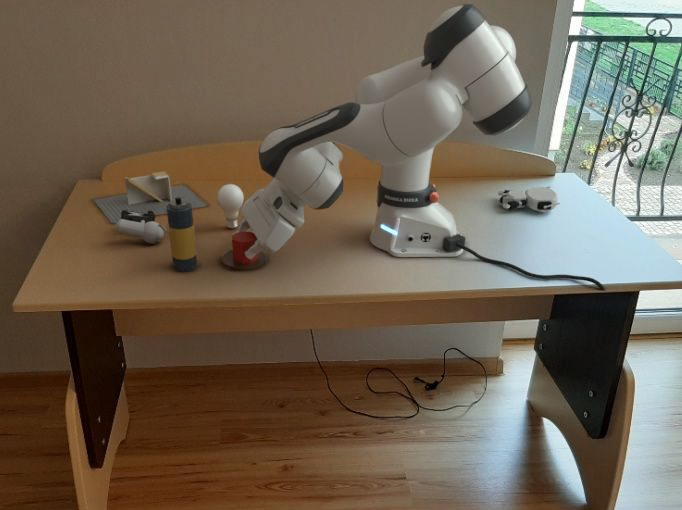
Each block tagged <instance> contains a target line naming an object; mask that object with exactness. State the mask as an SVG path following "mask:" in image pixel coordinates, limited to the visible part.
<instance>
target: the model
mask: <svg viewBox="0 0 682 510" xmlns="http://www.w3.org/2000/svg"><path fill="white" fill-rule="evenodd" d="M124 178H125V179H124V183H125V191H126V198H127V204H128V205H133V204H139V203H145V202H150V201H156V200H157V201H159V202H160V203H163V202H164V200H163V199H168V200H169V201H171V200H173V196H172V187H173V186H171V179H170V175H168V173H167V172H166V171H163V170H162V171H158V172H151V174H148V175H142V176H136V177H128V176H127V175H124Z"/></svg>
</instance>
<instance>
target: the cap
mask: <svg viewBox="0 0 682 510" xmlns="http://www.w3.org/2000/svg"><path fill="white" fill-rule="evenodd" d="M234 233H235V232H234ZM256 240H257V238H256V236H255V234H254V233H253V231H247V232H238V233H235V234H232V236H231V248H232V249H231V250H232V251H233V259H234V260H235V261H236V262H239V263H252V262H254V261H256V260H257V259H258V254H256V255H255V256H254V257H253V258H252V259H249V258H247V257H246V256H245V254H244V251H245V250H246V249H247V248H248V247H249V248H250V247H252V246H253V245H254V244H255V242H256Z"/></svg>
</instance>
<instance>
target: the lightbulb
mask: <svg viewBox="0 0 682 510" xmlns="http://www.w3.org/2000/svg"><path fill="white" fill-rule="evenodd" d="M216 201H217V204H218V206H219V207H220V208H221V209H222V211H223V213H224V216H225V219H226V227H227V228H228V229H231V230H233V229H236V228H237V227H239V225H238V224H239V223H238V217H239V212H240V210H241V208H242V206H243V205H244V201H245V195H244V192H243V190H242V189H241V188H240V187H239V186H238V185H236V184H233V183H227V184H224V185H222V186H221V187H220V188H219V189H218V191H217V195H216Z"/></svg>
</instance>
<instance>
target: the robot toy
mask: <svg viewBox="0 0 682 510" xmlns="http://www.w3.org/2000/svg"><path fill="white" fill-rule="evenodd" d="M497 195H498V196H500V197H499V202H500V203H501V204H502V208H504V209H506V210H517V209H522V208H524V207H525V206H527V207H528V209H531V210H533V211H537V212H539V213H546V212H548V211H552V210H555V208H556V207H557V206H559V205H560V204H561V202H558V201H559V200H558V199H559V196H558V194H557V193H556V192H555V191H554V190H553V189H552V186H550V185H549V186H536V187H535V186H534V187H533V186H532V187H529V188H527V189H526V190H525V191H523V190H509V189H504V191H503V190H499V191H498V192H497Z"/></svg>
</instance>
